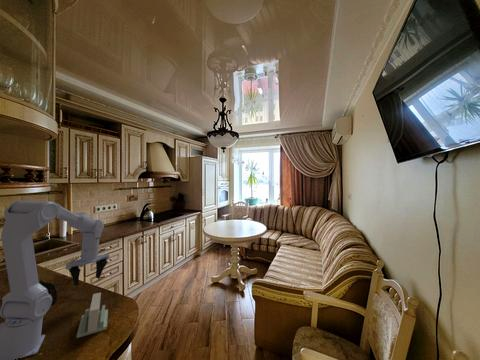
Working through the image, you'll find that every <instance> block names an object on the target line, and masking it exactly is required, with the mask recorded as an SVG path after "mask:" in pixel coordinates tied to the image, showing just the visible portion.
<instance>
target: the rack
mask: <svg viewBox="0 0 480 360" xmlns="http://www.w3.org/2000/svg"><path fill="white" fill-rule="evenodd" d="M89 311H90V308H86V309H85V312H84V314H82V315H81V318H80V321H79V325H78V329H77V333H76V339H78V338H82V337H85V336H89V335H92V334H96V333H100V332H102V331H103V332H104V331H106V330H108V329H107V328H108V317H109V309H108V308H107V309H106V304H103V305H102V306H101V310H99V317H98V324H97V331H94V332H90V333H88V322H89Z"/></svg>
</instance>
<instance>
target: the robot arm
mask: <svg viewBox="0 0 480 360" xmlns="http://www.w3.org/2000/svg"><path fill="white" fill-rule="evenodd" d="M86 214H87V213H86V212H82V211H81V212H76V213H74V212H72V211H70V210H69V209H67V208H65V207H63V206H61V204H60V203H56V202H54V201H51V200H50V201H49V200H47V201H41V200H40V201H39V200H25V199H20V200H16V201H14V202H12V203H11V204H10V205H9V206H8V207H7V208H6V209H5V210H4V211H3V215H4V220H5V221H4V224H3V226H2V230H1V233H0V238H1V244H2V249H3V254H4V255H3V257H4V261H5V267H6V273H7V279H8V285H9V289H10V291H9V292H8V293H6V294H5V295H4V296H3V297H2V298H1V301H2V304H1V306H0V317H1V318H2V319H5V320H4V322H2V323H0V360H15V359H16V360H19V359H18V358H20V359H23V358H27V357H28V356H33V355H36V354H38V352H39V350H40V349H41V345H42V344H43V342H44V340H45V337H46V334H42V328H43V319H44V316H45V315H46V313H48V311H49V310H50V309H51V304H52V300H53V298H52V297H53V296H52V297H51V294H50V293H49V294H48V290H47V289H46V288H45V287H44V286H42V285H41V284H40V283H39V281H40V280H39V275H38V269H37V262H36V256H35V255H36V254H35V246H34V240H33V235H34V234H35V233H36V232H39V231H40V230H41V229H43V228H44V227H45V226H47V225H48V224H49V223H51V222H52V221H53V220H54V219H58V220H60V221H64V222H67V225H68V226H69V227H70V228H73V229H76V230H78V231H79V233H81V234H82V241H81V253H80V259H76V260H73V261H70V262H68V263H66V264H65V269H66V270H68V271H69V274H70V275H71V277H72V281H73V286H75V287H76V286H77V287H78V286H79V283H80V281H79V280H80V279H79V278H80V274H81V270H82V269H80V267H81V266H86V265H90V264H92V263H95V265H96V266H95V267H96V269H95V278H96V279H101V276H102V272H103V270H104V268H105V267H106V265H107V264H108V260H110V254H109V253H105V254H99V246H100V238H101V235H102V232H103V230H104V227H105V225H104V222H103V221H102V220H101V219H95V218H94V217H93V216H88V215H86ZM52 305H53V304H52Z"/></svg>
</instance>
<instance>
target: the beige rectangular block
mask: <svg viewBox="0 0 480 360" xmlns="http://www.w3.org/2000/svg"><path fill="white" fill-rule="evenodd" d="M101 296H102V292H97V293H93V294H92V298H91V303H90V307H89V322H88V333H90V332H94V331H97V324H98V317H99V311H101V310H100V309H101V308H100V307H101Z"/></svg>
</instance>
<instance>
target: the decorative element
mask: <svg viewBox="0 0 480 360" xmlns="http://www.w3.org/2000/svg"><path fill="white" fill-rule="evenodd" d="M38 281H39V283H40V284H41V285H42V286H44V287H45V288H46V289H47V290H48V294H49V295H51V297H52V304H51V305H54V304H56V303H57V301H58V291H57V289H56V286H55V284H54V283H52V282H45V281H43V280H42V279H40V280H38Z"/></svg>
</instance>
